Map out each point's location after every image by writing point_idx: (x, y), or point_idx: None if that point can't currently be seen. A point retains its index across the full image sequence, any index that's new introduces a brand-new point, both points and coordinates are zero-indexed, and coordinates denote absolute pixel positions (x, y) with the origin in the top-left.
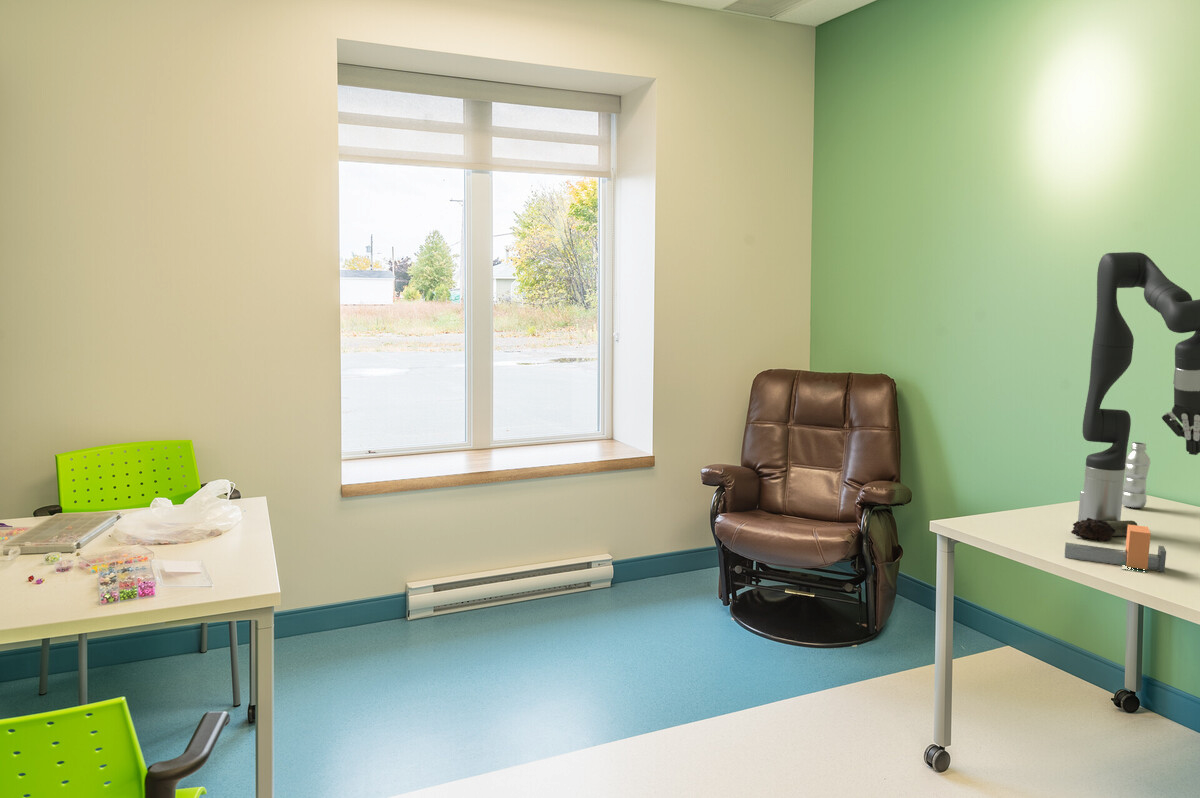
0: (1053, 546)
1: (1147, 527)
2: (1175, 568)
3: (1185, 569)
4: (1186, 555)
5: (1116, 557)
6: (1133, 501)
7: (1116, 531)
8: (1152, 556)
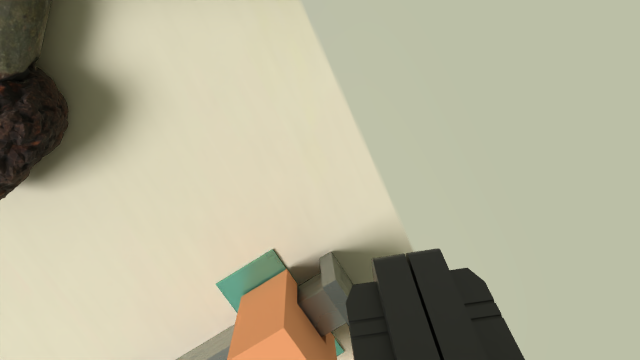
0: (43, 347)
1: (289, 339)
2: (360, 229)
3: (381, 211)
4: (302, 34)
5: None
6: None
7: (40, 48)
8: (330, 321)
